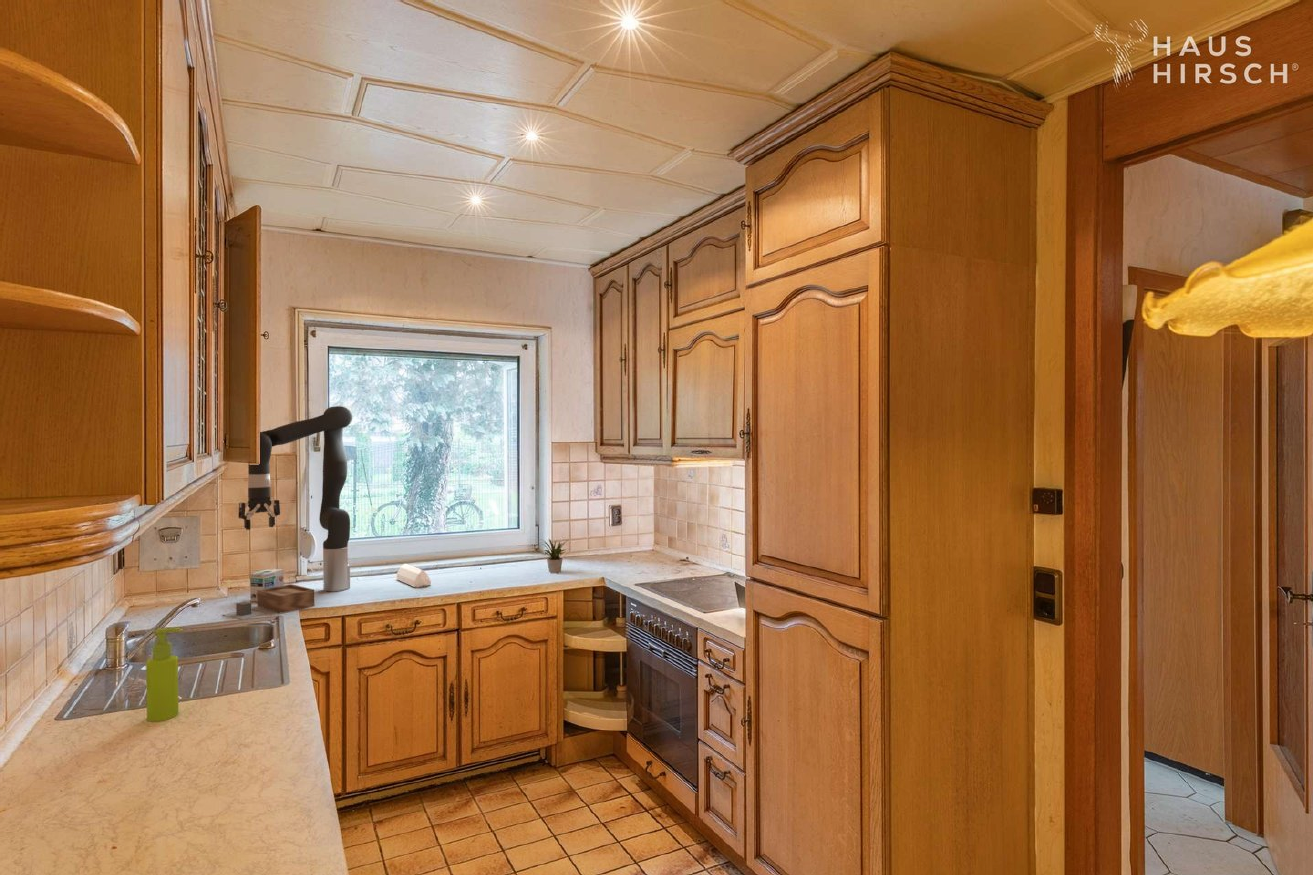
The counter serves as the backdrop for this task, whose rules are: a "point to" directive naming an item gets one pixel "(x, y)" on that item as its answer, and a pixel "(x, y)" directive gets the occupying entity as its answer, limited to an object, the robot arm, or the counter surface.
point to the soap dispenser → (162, 679)
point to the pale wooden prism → (413, 576)
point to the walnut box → (285, 598)
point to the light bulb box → (265, 581)
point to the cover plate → (243, 611)
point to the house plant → (554, 557)
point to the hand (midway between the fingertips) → (259, 528)
